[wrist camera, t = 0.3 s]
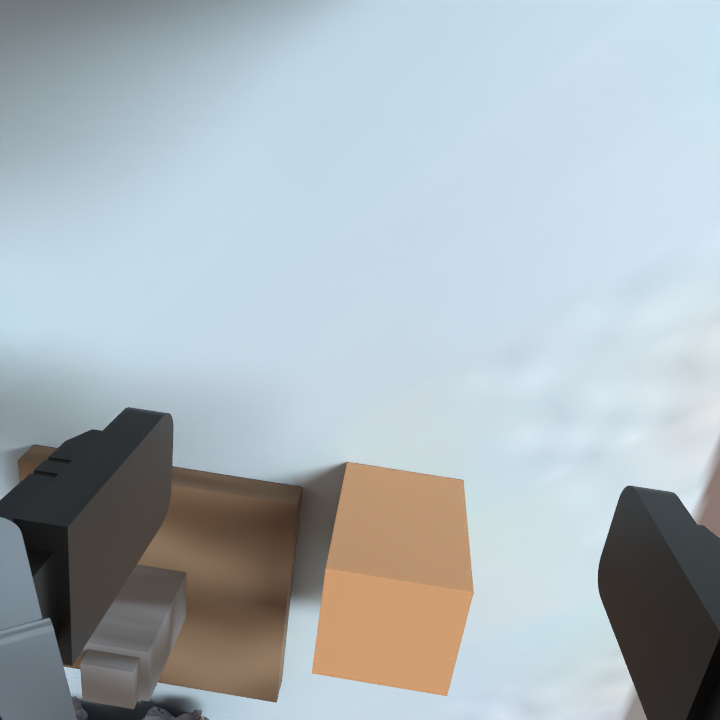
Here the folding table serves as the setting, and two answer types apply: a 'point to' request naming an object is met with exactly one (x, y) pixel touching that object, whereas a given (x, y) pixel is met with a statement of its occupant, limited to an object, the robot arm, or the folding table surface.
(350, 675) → the tan wooden cube
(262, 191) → the folding table surface
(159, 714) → the mineral specimen
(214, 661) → the post board
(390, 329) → the folding table surface
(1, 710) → the robot arm
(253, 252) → the folding table surface
